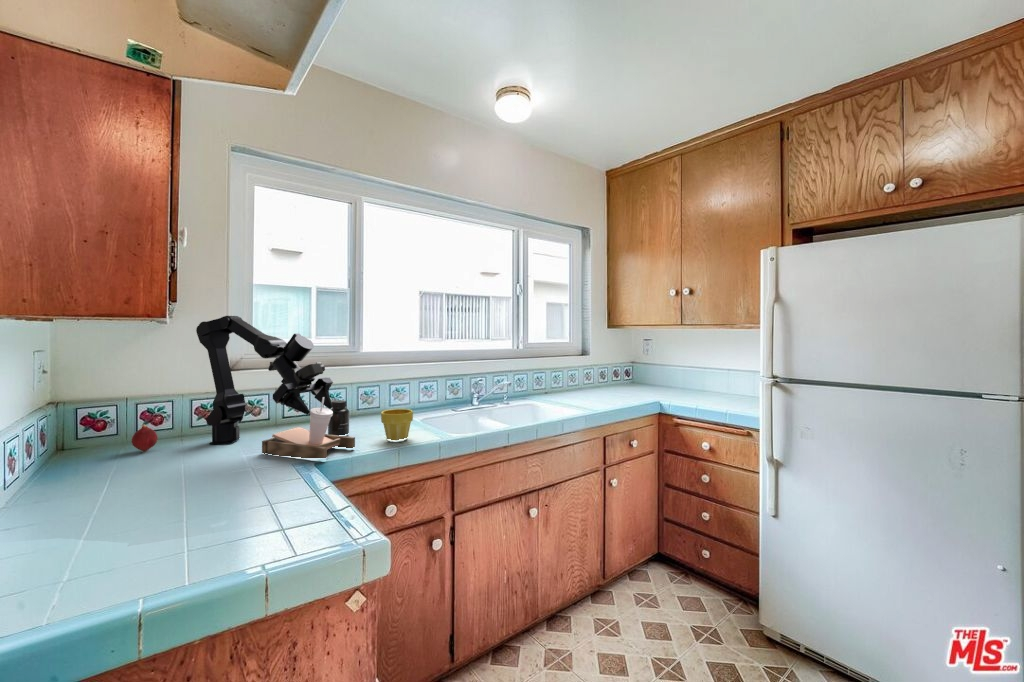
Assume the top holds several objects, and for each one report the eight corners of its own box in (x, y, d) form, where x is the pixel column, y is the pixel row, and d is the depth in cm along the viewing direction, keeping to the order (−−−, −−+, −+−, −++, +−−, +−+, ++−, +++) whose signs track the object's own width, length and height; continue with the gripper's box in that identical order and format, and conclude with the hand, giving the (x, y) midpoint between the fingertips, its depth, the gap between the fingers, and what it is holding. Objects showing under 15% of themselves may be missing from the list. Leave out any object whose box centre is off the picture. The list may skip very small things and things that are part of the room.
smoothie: (300, 443, 124) (308, 397, 122) (309, 435, 130) (318, 392, 129) (322, 447, 124) (330, 402, 123) (330, 440, 130) (339, 396, 129)
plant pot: (378, 437, 146) (379, 409, 146) (409, 435, 150) (409, 407, 150) (383, 445, 137) (383, 415, 136) (415, 442, 141) (415, 413, 141)
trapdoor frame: (262, 454, 125) (262, 441, 125) (297, 443, 138) (297, 430, 137) (323, 462, 118) (323, 448, 118) (354, 450, 131) (354, 437, 131)
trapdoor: (270, 446, 126) (273, 430, 125) (296, 438, 135) (299, 423, 135) (313, 463, 121) (316, 447, 121) (337, 454, 131) (340, 438, 130)
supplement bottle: (344, 438, 144) (344, 403, 144) (324, 438, 145) (324, 402, 144) (352, 433, 151) (352, 399, 151) (333, 433, 151) (333, 399, 151)
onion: (162, 449, 129) (162, 422, 128) (144, 454, 123) (144, 427, 123) (145, 448, 129) (145, 422, 129) (126, 453, 123) (126, 426, 123)
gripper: (280, 355, 119) (312, 397, 116) (328, 352, 136) (357, 388, 133) (258, 382, 121) (289, 423, 118) (308, 375, 139) (336, 411, 136)
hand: (320, 410), depth 126 cm, fingers open, 9 cm apart
